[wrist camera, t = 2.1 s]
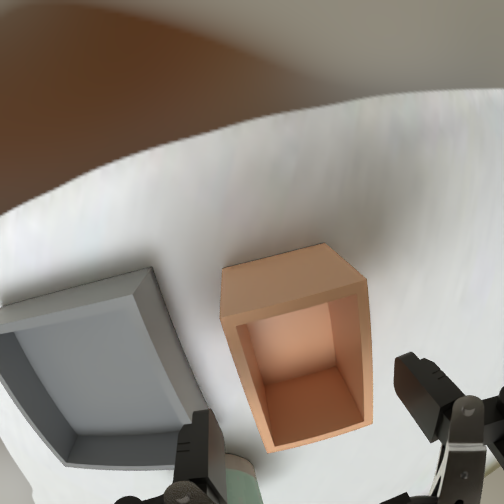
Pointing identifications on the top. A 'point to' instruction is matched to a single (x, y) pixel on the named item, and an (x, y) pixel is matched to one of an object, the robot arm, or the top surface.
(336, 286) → the small crate
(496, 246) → the top surface
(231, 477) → the coffee cup
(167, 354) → the big crate
